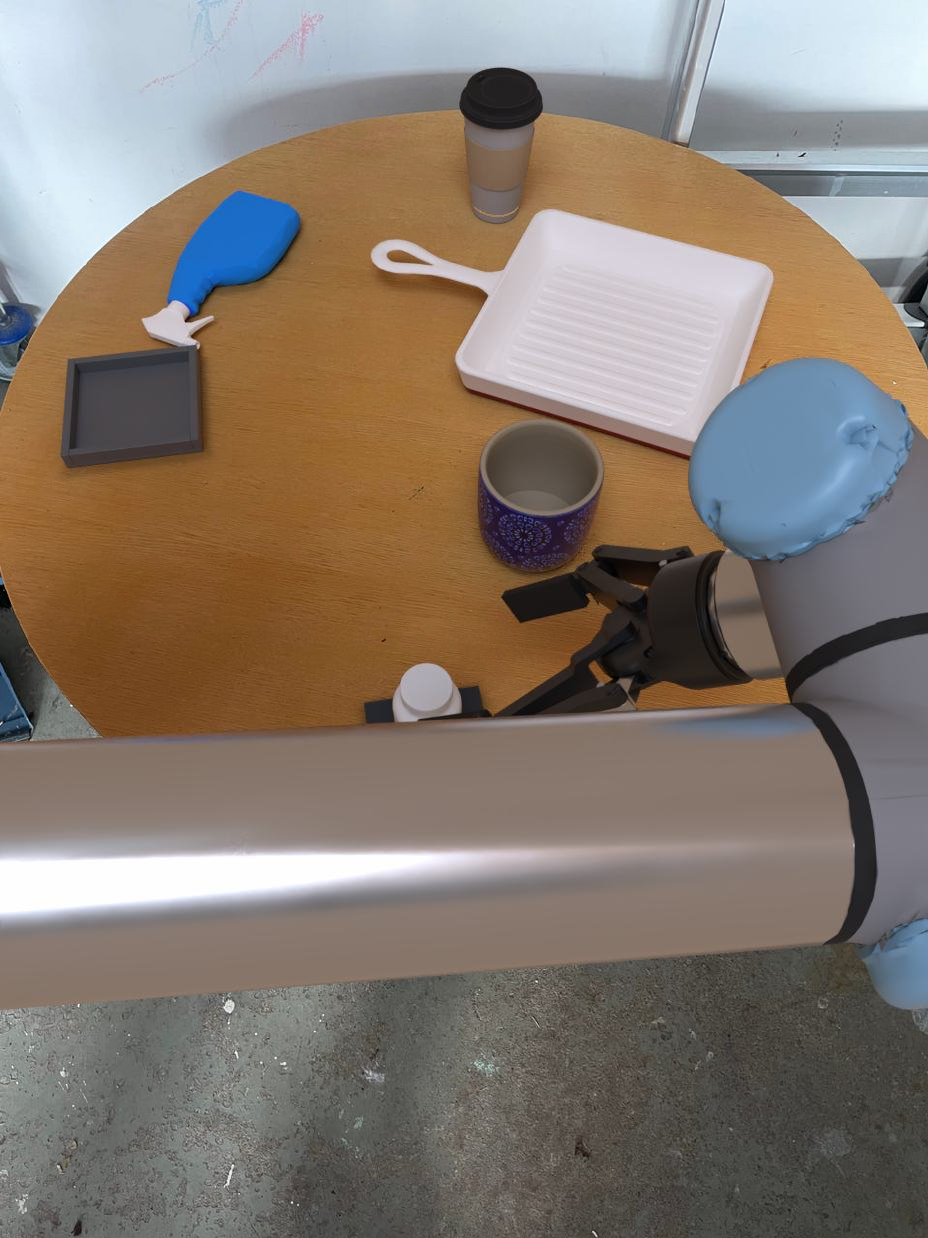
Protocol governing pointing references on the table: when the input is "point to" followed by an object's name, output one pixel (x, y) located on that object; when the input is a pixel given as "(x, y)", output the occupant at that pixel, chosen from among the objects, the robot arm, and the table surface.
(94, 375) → the dark gray tray
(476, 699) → the slate mat
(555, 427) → the planter
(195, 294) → the spray bottle
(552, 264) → the pan
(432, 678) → the supplement bottle
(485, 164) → the coffee cup
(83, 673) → the table surface
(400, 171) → the table surface
